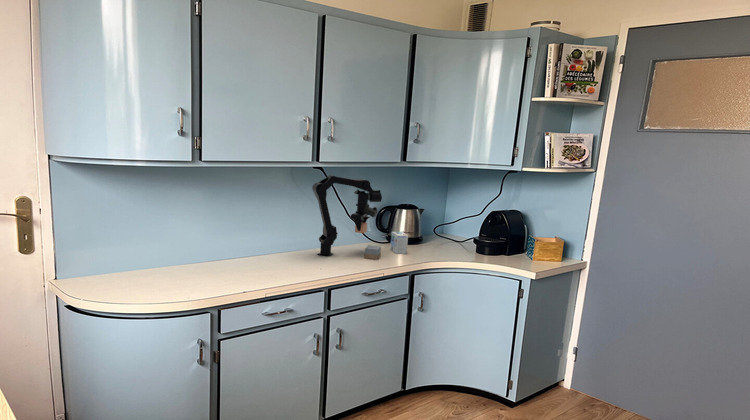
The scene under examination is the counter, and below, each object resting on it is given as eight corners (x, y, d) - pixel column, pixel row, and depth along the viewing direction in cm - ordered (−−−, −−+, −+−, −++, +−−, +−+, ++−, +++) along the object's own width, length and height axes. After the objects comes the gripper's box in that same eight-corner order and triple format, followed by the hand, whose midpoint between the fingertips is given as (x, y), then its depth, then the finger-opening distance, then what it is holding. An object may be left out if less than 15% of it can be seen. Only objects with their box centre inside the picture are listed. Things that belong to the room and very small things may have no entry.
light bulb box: (389, 249, 290) (391, 231, 289) (400, 249, 292) (402, 231, 291) (396, 254, 280) (397, 235, 278) (407, 253, 282) (408, 235, 281)
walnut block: (376, 260, 264) (376, 255, 264) (363, 258, 266) (364, 253, 266) (380, 257, 271) (380, 252, 270) (368, 256, 273) (368, 250, 272)
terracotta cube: (363, 233, 272) (364, 224, 271) (355, 232, 274) (355, 223, 273) (366, 231, 277) (367, 222, 276) (358, 230, 278) (358, 221, 277)
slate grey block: (377, 255, 264) (377, 249, 264) (364, 253, 266) (365, 248, 265) (380, 252, 271) (380, 246, 270) (368, 250, 272) (368, 245, 272)
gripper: (370, 205, 261) (368, 234, 264) (382, 201, 279) (380, 229, 281) (350, 203, 265) (349, 232, 267) (363, 199, 282) (361, 226, 285)
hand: (360, 230), depth 275 cm, fingers closed on terracotta cube, 5 cm apart
